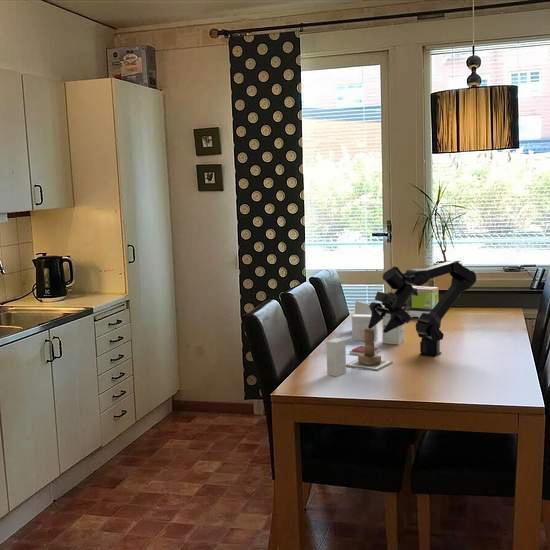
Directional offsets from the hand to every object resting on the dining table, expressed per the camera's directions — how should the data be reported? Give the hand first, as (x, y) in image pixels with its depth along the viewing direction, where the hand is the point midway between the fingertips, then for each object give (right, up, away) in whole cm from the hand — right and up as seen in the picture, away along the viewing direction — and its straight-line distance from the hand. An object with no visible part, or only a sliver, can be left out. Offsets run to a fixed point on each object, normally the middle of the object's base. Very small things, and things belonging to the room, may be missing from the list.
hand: (376, 330), depth 253 cm
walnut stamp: (-2, -12, 0) cm, 12 cm away
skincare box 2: (+1, -8, +42) cm, 43 cm away
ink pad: (-2, -10, +18) cm, 21 cm away
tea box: (+35, -1, +90) cm, 97 cm away
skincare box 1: (-16, -15, -11) cm, 24 cm away
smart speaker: (+3, -5, +59) cm, 59 cm away
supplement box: (+12, -8, +35) cm, 38 cm away
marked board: (-3, -13, 0) cm, 13 cm away
